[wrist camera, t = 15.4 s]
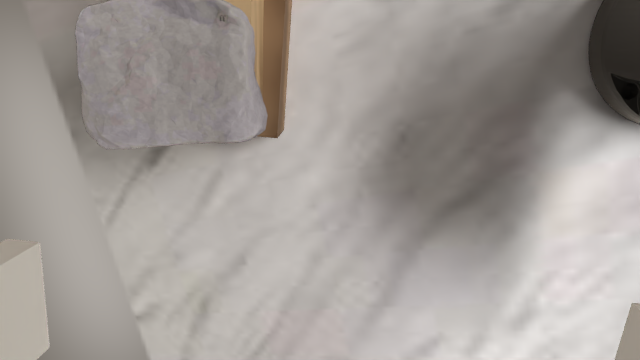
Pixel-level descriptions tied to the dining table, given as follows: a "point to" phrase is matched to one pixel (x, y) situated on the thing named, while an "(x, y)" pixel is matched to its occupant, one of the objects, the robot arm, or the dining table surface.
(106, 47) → the stone block
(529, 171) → the dining table surface
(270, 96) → the tower base block
